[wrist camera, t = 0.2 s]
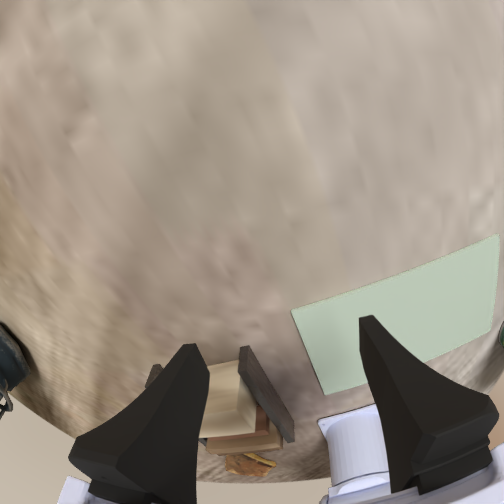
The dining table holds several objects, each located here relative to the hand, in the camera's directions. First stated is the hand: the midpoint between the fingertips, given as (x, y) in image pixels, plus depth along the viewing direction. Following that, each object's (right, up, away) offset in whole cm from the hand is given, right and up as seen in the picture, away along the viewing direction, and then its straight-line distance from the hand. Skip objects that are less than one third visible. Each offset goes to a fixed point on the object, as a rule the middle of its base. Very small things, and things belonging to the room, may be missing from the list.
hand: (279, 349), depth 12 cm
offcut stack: (-2, -15, +19) cm, 24 cm away
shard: (-3, -27, +25) cm, 37 cm away
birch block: (-5, -9, +16) cm, 19 cm away
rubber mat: (+14, -2, +11) cm, 18 cm away
